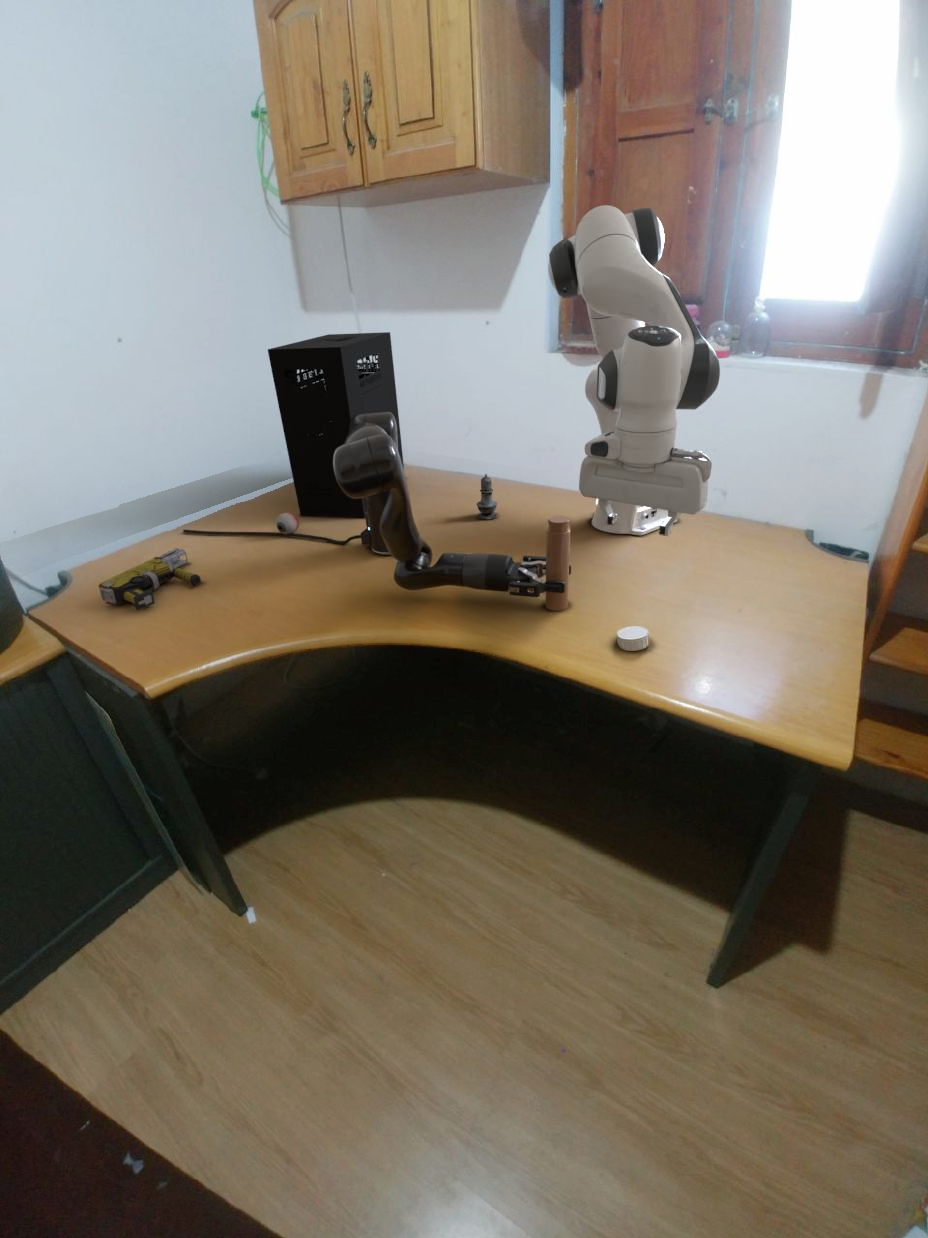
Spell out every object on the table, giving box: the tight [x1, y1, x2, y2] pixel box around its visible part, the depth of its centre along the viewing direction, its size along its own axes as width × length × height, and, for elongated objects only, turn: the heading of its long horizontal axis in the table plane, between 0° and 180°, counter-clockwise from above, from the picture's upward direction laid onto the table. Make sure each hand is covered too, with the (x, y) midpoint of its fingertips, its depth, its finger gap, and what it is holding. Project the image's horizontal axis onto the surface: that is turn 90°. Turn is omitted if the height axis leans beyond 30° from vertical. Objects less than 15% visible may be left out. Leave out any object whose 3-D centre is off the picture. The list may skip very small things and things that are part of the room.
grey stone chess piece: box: [476, 473, 498, 520], centre depth 166 cm, size 6×6×12 cm
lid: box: [616, 625, 650, 652], centre depth 109 cm, size 6×6×2 cm
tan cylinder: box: [544, 514, 572, 612], centre depth 118 cm, size 4×4×19 cm
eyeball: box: [275, 511, 300, 534], centre depth 163 cm, size 6×6×6 cm
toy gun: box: [98, 547, 202, 611], centre depth 139 cm, size 5×24×15 cm
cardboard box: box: [267, 331, 405, 518], centre depth 180 cm, size 38×20×45 cm, turn 167°
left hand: (567, 578), depth 119 cm, fingers open, 7 cm apart
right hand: (637, 529), depth 99 cm, fingers open, 8 cm apart
